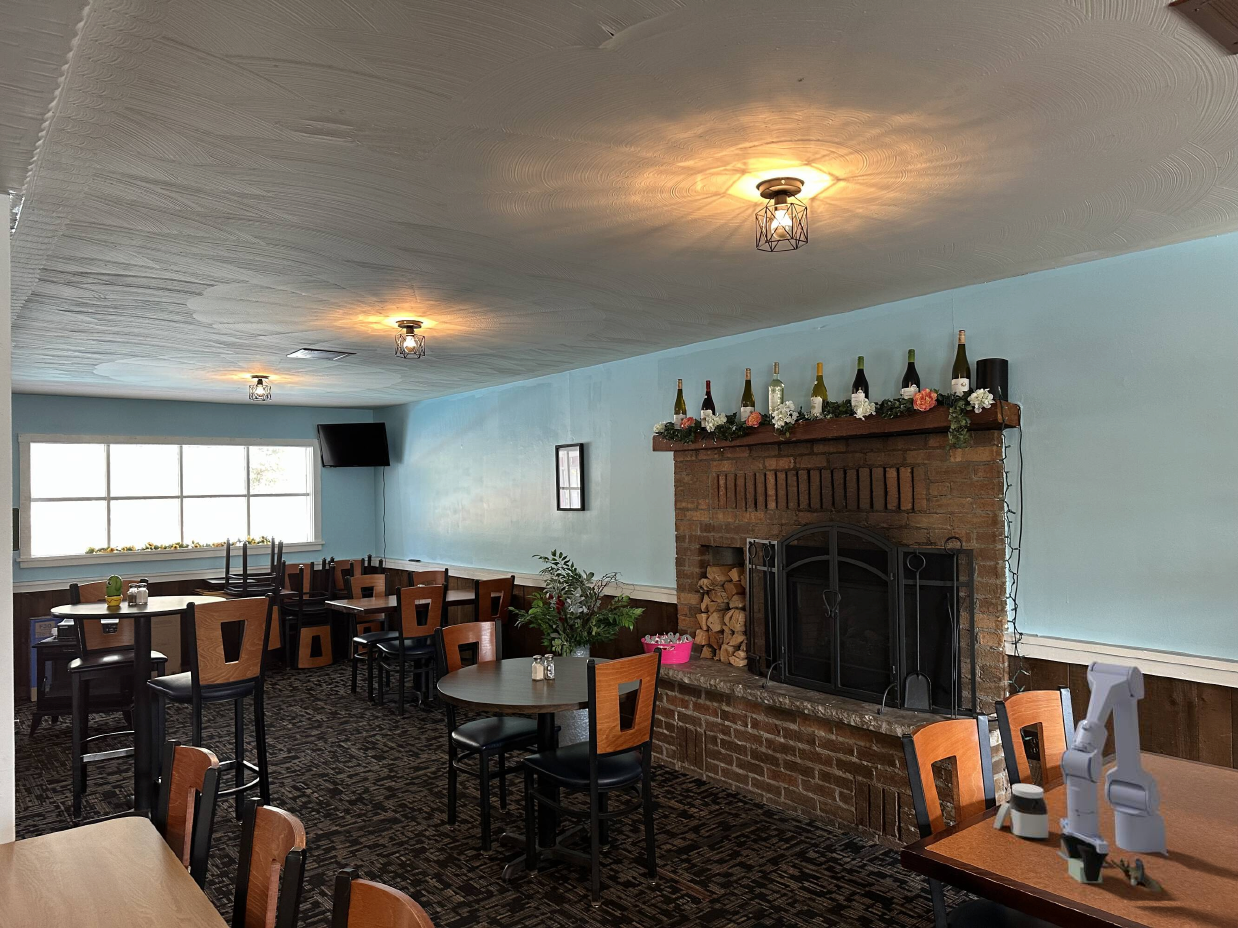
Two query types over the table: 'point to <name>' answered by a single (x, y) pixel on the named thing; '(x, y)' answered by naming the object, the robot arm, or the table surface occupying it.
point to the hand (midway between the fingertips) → (1085, 875)
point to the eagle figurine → (1138, 874)
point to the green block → (1080, 870)
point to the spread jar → (1025, 813)
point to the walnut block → (1064, 849)
